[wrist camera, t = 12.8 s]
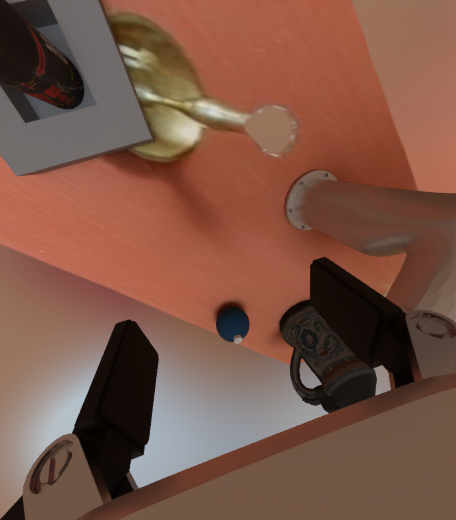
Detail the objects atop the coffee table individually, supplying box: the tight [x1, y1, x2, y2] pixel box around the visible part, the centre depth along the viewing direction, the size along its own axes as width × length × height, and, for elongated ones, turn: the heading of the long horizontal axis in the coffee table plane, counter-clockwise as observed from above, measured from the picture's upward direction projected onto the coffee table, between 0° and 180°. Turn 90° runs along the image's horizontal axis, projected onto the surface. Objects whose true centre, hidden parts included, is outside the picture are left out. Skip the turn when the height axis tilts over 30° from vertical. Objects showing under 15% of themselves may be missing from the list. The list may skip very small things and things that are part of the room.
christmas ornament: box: [216, 307, 249, 344], centre depth 46 cm, size 8×8×10 cm
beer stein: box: [280, 300, 377, 413], centre depth 49 cm, size 16×19×25 cm
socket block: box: [0, 0, 155, 176], centre depth 22 cm, size 18×18×4 cm
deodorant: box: [0, 0, 85, 109], centre depth 17 cm, size 6×6×15 cm
